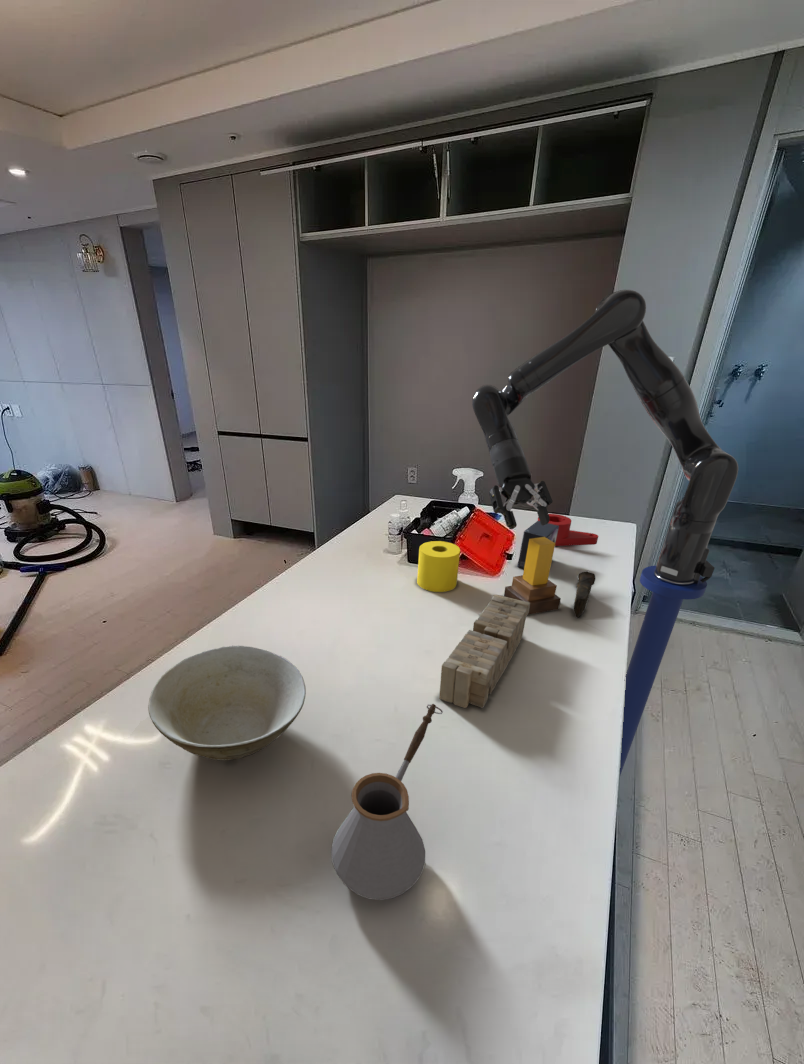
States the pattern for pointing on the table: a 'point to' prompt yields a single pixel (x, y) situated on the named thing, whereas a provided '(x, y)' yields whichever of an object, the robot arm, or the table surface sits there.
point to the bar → (538, 560)
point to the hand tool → (583, 591)
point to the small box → (536, 532)
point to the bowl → (227, 701)
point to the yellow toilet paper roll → (438, 566)
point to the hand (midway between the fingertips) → (529, 525)
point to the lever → (570, 532)
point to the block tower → (483, 653)
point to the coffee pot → (381, 833)
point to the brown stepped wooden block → (534, 595)
